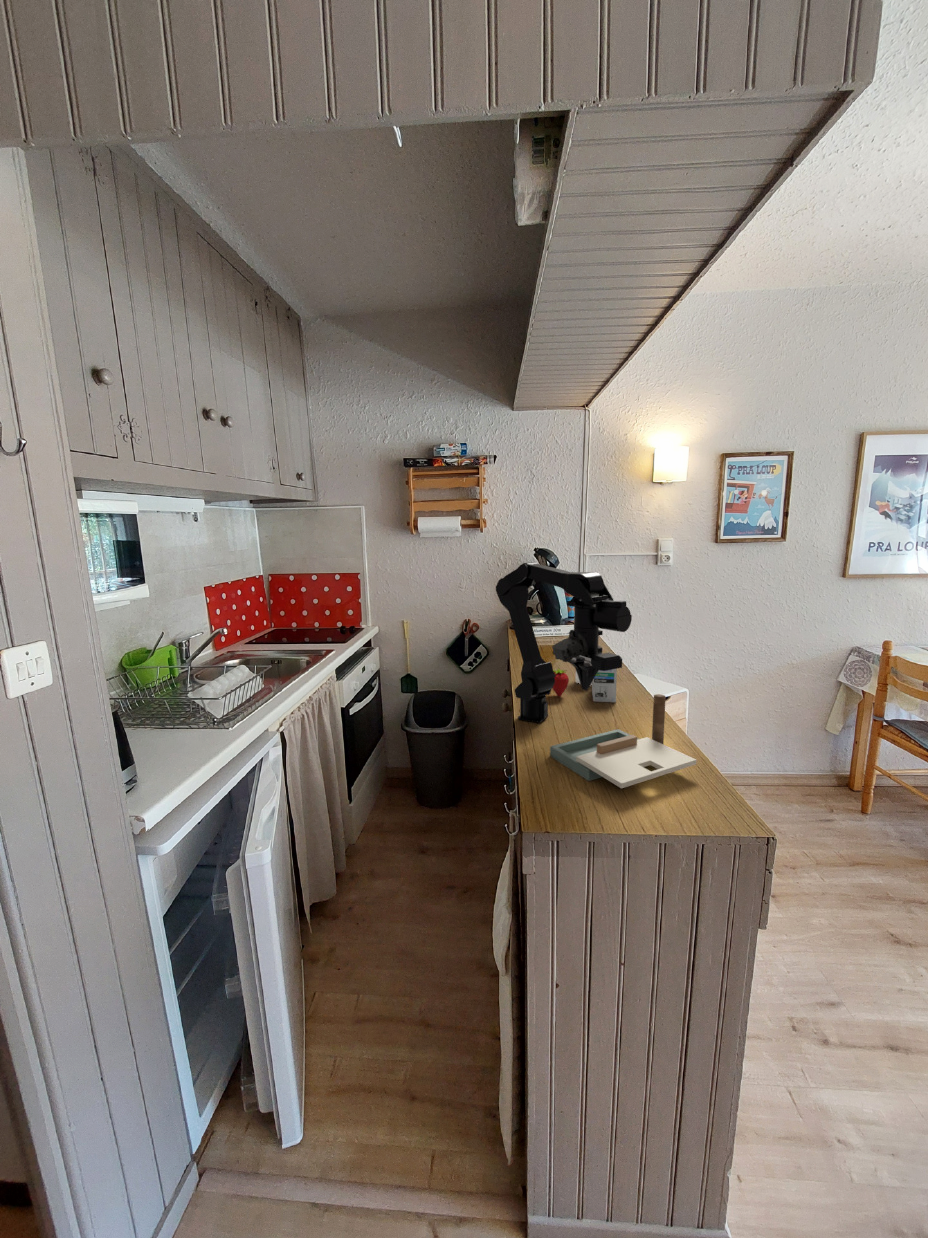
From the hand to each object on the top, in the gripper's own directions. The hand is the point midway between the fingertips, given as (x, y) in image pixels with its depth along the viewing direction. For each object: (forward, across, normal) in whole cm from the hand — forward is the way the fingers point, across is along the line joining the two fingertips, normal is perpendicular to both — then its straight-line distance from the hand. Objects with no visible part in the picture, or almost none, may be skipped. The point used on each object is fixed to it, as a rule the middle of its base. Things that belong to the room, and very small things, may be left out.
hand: (585, 689), depth 120 cm
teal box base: (+12, +11, -4) cm, 17 cm away
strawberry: (+12, -28, +13) cm, 33 cm away
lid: (+9, +20, -4) cm, 23 cm away
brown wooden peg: (+12, +13, +10) cm, 21 cm away
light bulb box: (+12, -21, +25) cm, 35 cm away
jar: (+12, -34, +30) cm, 47 cm away
